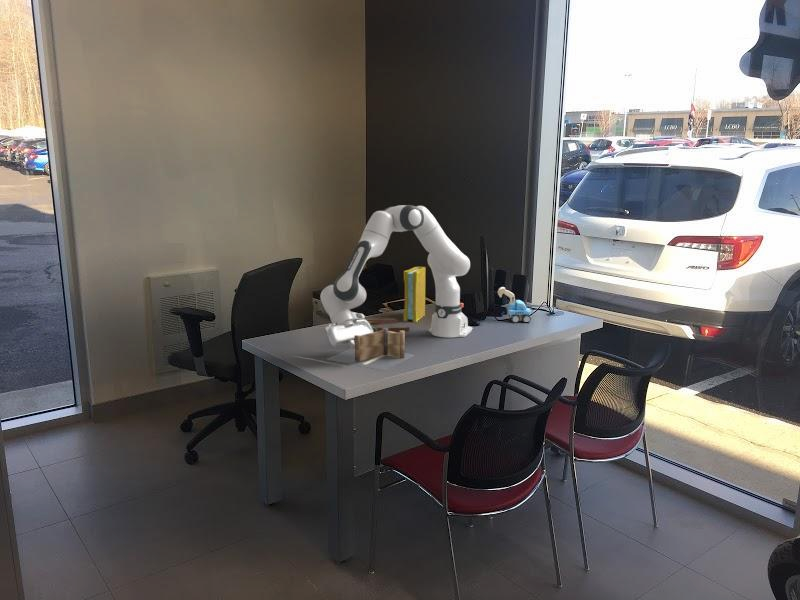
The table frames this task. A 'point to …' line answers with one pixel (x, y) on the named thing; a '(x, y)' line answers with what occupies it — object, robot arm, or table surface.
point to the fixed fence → (394, 343)
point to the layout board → (369, 360)
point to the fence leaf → (369, 345)
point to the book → (414, 293)
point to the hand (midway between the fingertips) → (359, 350)
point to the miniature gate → (383, 321)
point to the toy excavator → (516, 307)
